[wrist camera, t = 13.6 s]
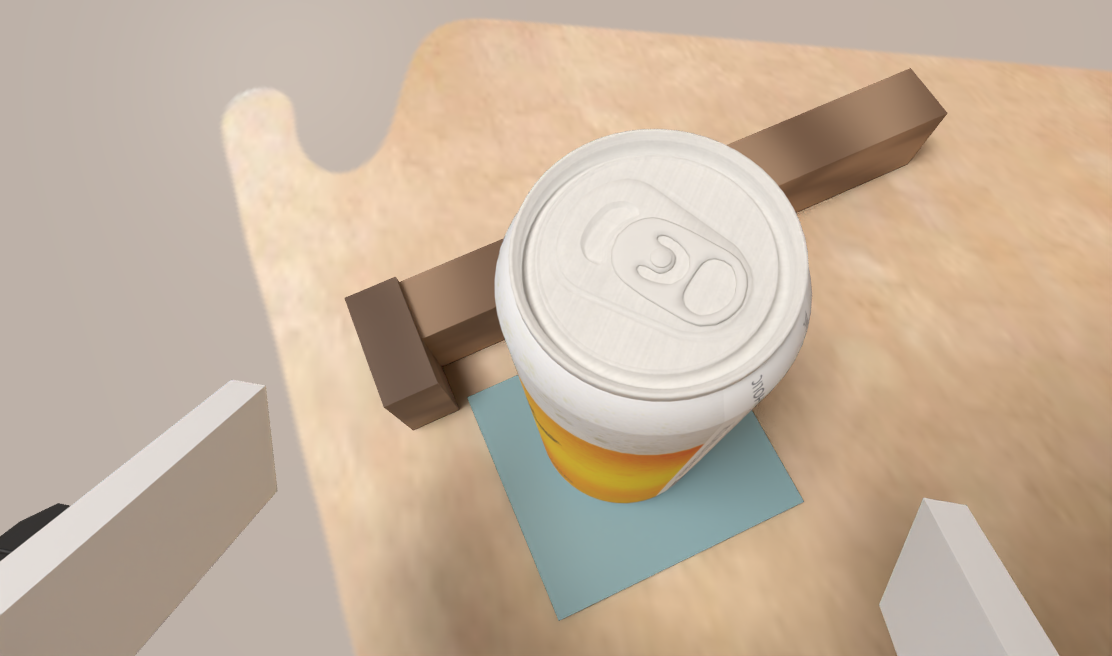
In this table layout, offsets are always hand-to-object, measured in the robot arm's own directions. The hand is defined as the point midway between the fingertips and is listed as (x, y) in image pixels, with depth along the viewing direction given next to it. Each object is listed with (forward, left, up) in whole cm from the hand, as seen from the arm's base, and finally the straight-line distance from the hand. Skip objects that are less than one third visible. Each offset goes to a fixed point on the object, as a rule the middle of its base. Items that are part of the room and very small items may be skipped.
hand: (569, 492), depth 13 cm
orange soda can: (-3, -3, -12) cm, 13 cm away
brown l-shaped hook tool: (-8, -8, -12) cm, 17 cm away
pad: (-3, -2, -12) cm, 13 cm away
